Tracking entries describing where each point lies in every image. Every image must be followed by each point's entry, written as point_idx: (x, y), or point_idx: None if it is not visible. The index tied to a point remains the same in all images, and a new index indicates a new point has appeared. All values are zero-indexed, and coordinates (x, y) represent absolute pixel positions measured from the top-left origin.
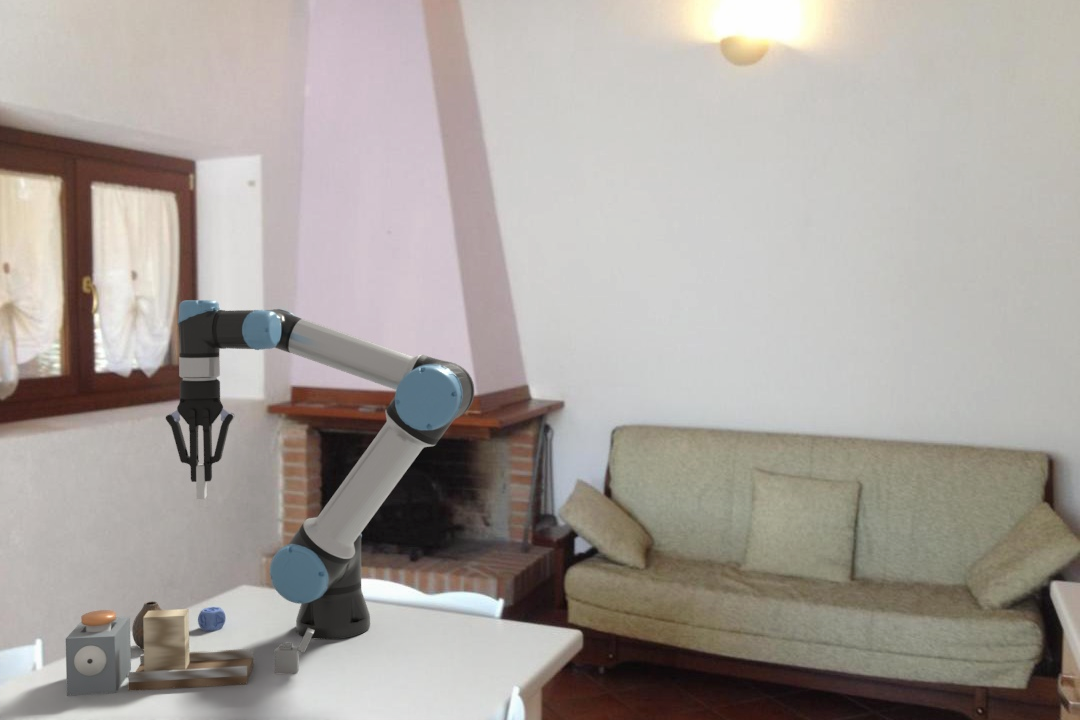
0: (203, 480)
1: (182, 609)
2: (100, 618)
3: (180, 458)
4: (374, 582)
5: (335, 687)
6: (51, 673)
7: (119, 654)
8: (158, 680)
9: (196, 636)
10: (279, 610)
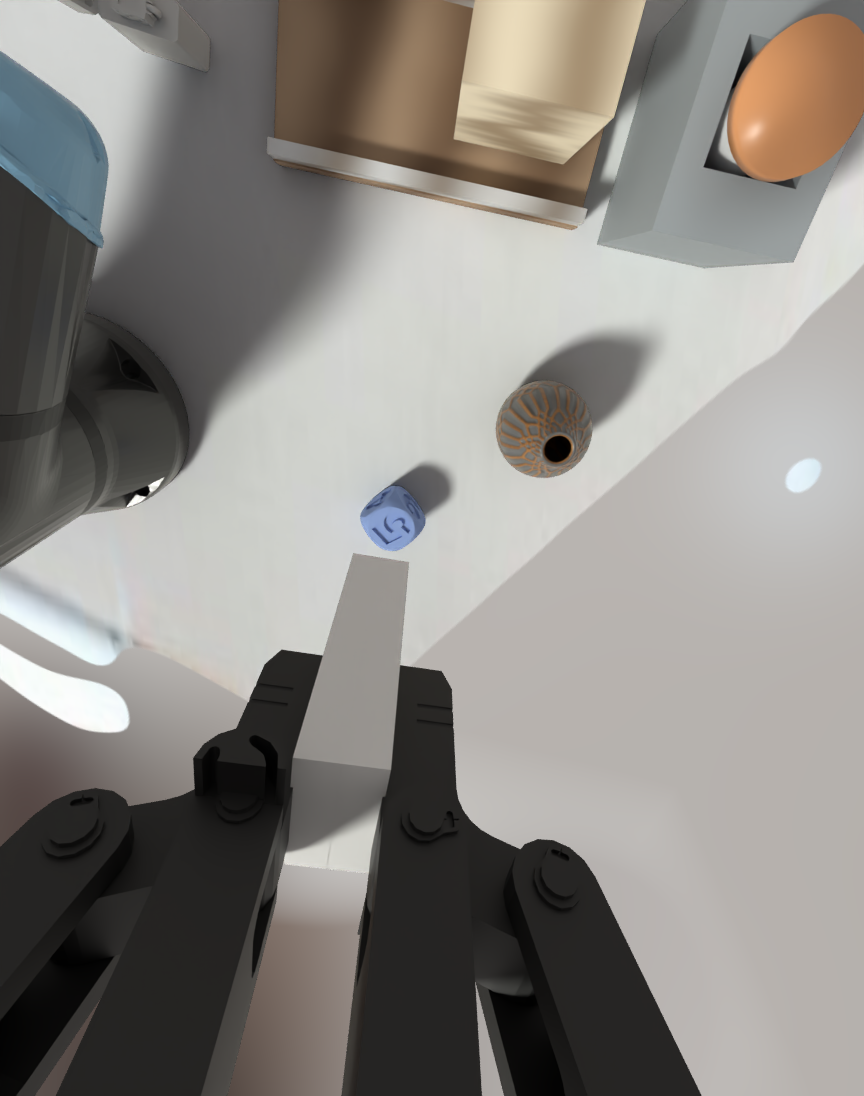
0: (334, 642)
1: (485, 80)
2: (811, 32)
3: (604, 908)
4: (51, 702)
5: None
6: (778, 292)
7: (678, 62)
8: None
9: (429, 460)
10: (246, 583)
